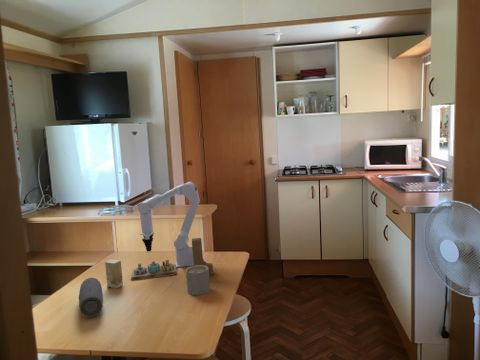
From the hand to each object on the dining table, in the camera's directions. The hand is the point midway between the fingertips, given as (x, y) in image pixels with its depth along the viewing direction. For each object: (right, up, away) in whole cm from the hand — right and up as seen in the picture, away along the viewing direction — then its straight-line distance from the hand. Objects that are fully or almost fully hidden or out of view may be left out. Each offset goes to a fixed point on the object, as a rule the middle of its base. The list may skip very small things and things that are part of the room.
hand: (149, 249), depth 213 cm
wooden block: (+31, -10, -16) cm, 36 cm away
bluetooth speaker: (-13, -17, -46) cm, 51 cm away
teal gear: (+5, -9, -10) cm, 14 cm away
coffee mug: (+30, -12, -34) cm, 47 cm away
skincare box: (-11, -14, -23) cm, 29 cm away
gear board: (+5, -11, -10) cm, 15 cm away
